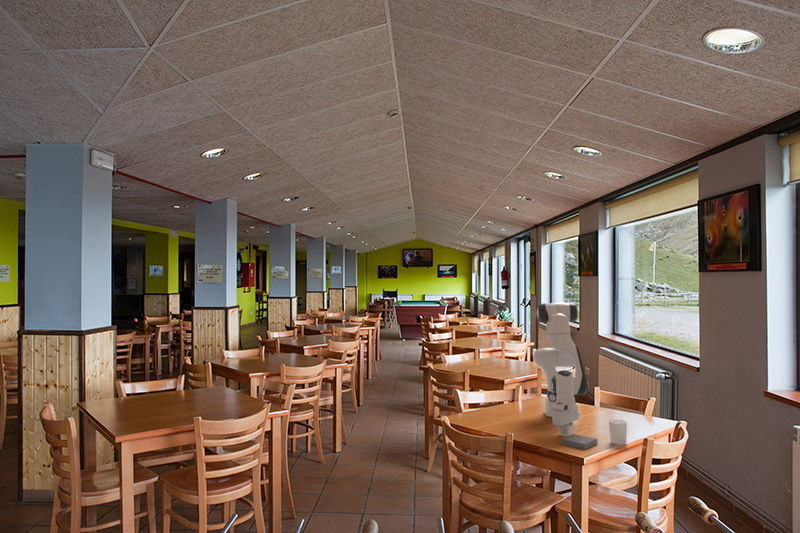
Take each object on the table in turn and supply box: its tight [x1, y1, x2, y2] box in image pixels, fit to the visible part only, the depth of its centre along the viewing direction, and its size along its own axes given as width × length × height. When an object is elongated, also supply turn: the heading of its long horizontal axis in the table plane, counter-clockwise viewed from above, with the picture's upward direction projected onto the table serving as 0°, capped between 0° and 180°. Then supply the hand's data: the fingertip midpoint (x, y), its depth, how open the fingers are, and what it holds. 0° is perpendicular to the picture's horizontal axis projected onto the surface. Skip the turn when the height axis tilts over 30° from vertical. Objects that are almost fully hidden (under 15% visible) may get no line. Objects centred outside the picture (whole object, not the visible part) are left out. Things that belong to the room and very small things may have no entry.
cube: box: [558, 423, 575, 437], centre depth 258 cm, size 5×5×5 cm
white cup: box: [608, 419, 628, 446], centre depth 244 cm, size 8×8×10 cm
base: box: [560, 433, 598, 450], centre depth 242 cm, size 12×12×2 cm
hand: (566, 431), depth 258 cm, fingers closed on cube, 5 cm apart
